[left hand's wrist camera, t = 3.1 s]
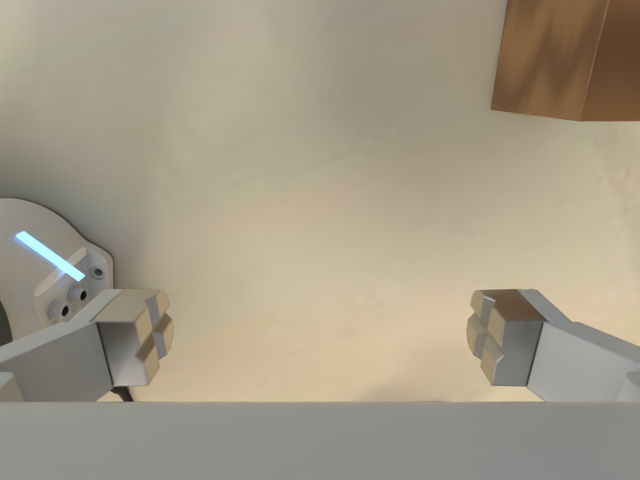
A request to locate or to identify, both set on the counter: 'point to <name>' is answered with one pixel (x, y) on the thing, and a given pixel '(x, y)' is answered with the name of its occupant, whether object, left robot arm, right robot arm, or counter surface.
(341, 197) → the counter surface
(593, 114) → the box
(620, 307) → the counter surface
